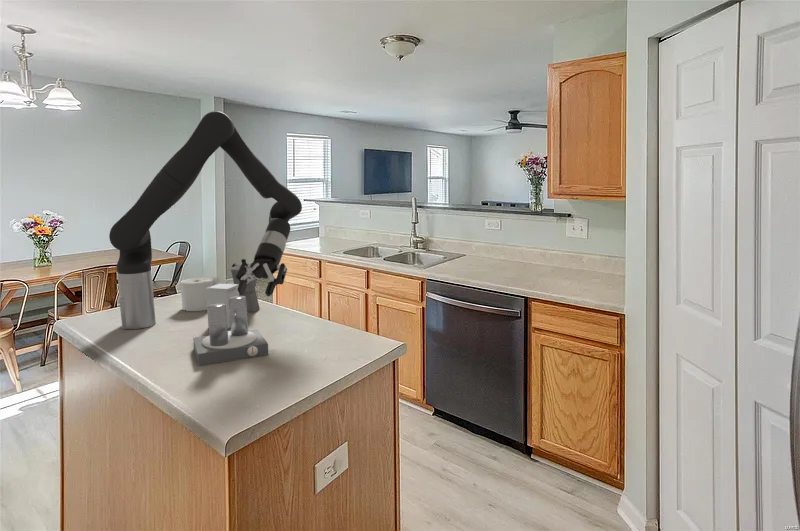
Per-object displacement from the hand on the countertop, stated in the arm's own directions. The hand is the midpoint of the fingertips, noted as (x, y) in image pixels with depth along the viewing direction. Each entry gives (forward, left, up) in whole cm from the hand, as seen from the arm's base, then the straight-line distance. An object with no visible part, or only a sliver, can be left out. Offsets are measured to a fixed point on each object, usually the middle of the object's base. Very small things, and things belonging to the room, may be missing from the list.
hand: (253, 294), depth 141 cm
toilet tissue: (-12, +43, -13) cm, 47 cm away
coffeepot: (+2, +33, -13) cm, 36 cm away
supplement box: (-7, +16, -13) cm, 22 cm away
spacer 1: (-12, -13, -9) cm, 19 cm away
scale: (-9, -10, -13) cm, 18 cm away
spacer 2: (-6, -7, -9) cm, 12 cm away
